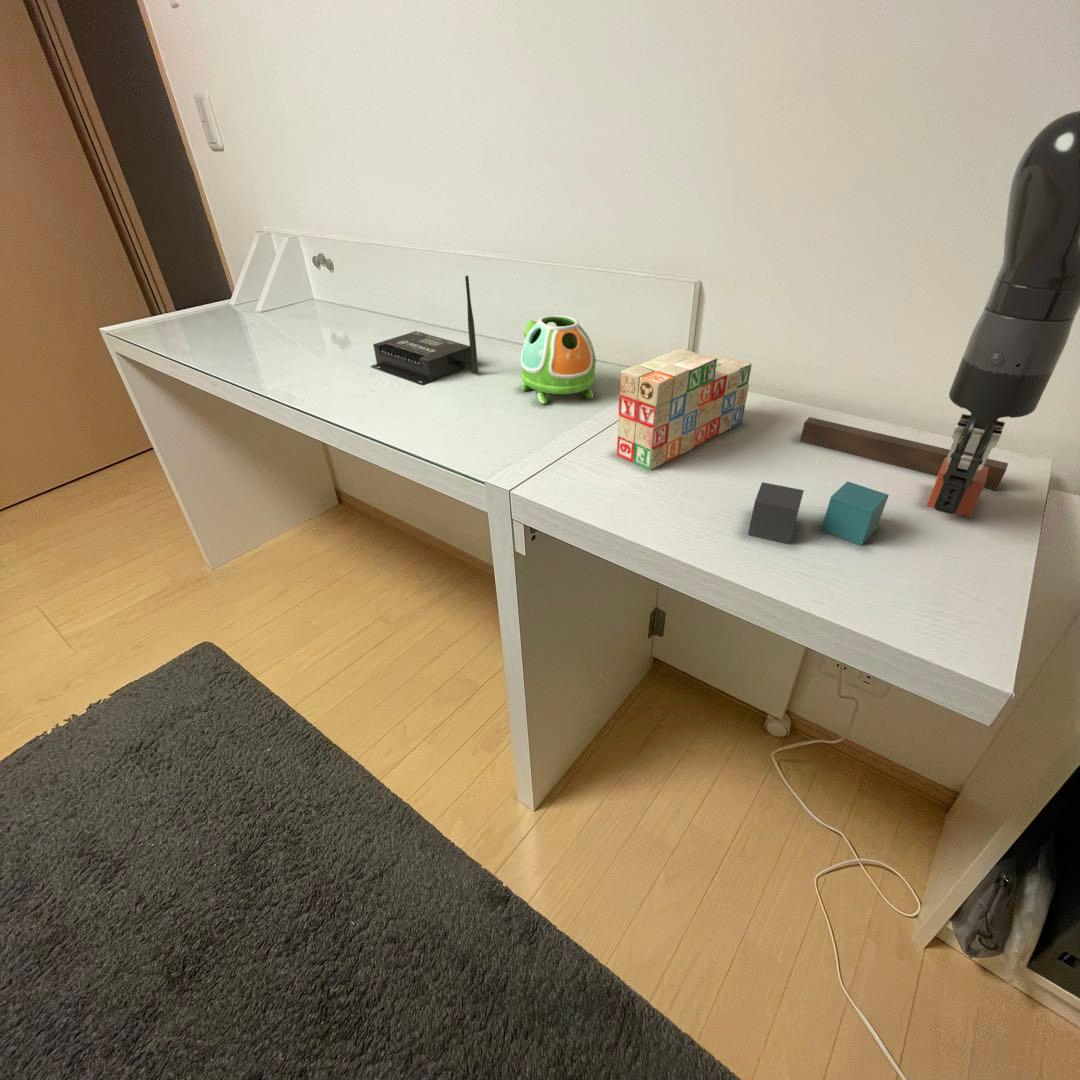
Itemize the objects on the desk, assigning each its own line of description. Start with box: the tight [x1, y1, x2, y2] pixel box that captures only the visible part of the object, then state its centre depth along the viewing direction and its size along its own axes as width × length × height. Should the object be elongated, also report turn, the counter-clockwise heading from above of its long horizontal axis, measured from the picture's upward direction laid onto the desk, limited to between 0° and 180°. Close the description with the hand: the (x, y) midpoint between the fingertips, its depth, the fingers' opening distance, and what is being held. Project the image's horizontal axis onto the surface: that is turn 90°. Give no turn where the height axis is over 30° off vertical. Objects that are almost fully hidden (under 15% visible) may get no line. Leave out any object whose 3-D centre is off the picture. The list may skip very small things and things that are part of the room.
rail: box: [799, 416, 1009, 492], centre depth 81 cm, size 24×2×3 cm, turn 52°
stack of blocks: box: [616, 348, 752, 471], centre depth 85 cm, size 21×6×12 cm, turn 131°
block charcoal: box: [747, 481, 805, 545], centre depth 68 cm, size 4×4×4 cm
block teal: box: [820, 481, 889, 546], centre depth 68 cm, size 4×4×4 cm
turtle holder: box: [520, 314, 597, 405], centre depth 103 cm, size 12×18×12 cm
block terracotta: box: [926, 457, 989, 517], centre depth 72 cm, size 4×4×4 cm
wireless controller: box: [369, 275, 479, 386], centre depth 111 cm, size 20×14×17 cm
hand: (944, 509), depth 69 cm, fingers closed
